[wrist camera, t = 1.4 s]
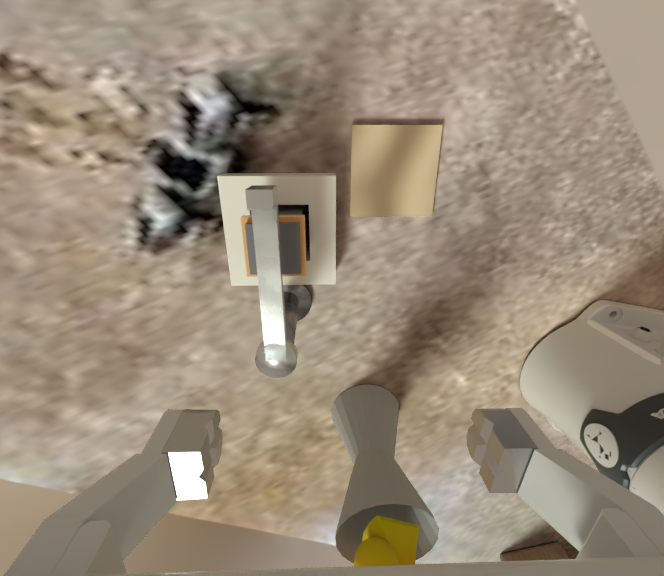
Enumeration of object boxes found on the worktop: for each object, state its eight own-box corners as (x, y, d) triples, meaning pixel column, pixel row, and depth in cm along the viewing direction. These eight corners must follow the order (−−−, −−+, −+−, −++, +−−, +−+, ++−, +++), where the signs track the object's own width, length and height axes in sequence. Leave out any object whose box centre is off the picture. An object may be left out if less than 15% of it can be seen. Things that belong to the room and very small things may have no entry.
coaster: (440, 125, 30) (442, 124, 29) (430, 215, 33) (432, 216, 32) (351, 125, 30) (352, 124, 29) (349, 215, 33) (350, 216, 32)
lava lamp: (412, 395, 42) (720, 1217, 10) (381, 444, 45) (535, 1187, 13) (347, 374, 40) (458, 1279, 8) (319, 427, 43) (320, 1227, 11)
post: (310, 277, 35) (307, 323, 26) (311, 319, 37) (309, 374, 28) (262, 278, 35) (244, 324, 26) (266, 320, 37) (250, 376, 28)
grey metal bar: (298, 369, 27) (296, 387, 25) (259, 370, 27) (254, 388, 25) (289, 185, 22) (285, 189, 20) (239, 185, 22) (231, 189, 20)
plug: (307, 201, 32) (304, 218, 25) (308, 249, 34) (306, 278, 27) (257, 201, 32) (238, 218, 25) (261, 250, 34) (245, 279, 26)
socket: (334, 172, 31) (336, 175, 28) (334, 273, 35) (335, 284, 32) (226, 173, 31) (217, 176, 28) (238, 274, 35) (231, 285, 32)
